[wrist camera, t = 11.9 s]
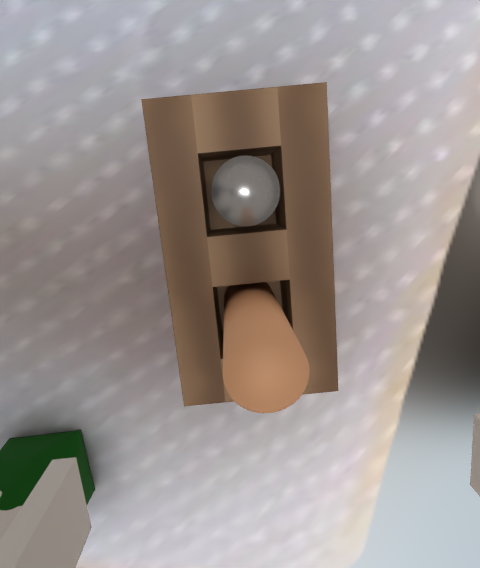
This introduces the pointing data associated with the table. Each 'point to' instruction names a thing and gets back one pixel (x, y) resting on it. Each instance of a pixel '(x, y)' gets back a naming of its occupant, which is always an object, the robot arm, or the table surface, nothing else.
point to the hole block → (244, 239)
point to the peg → (261, 351)
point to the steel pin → (245, 190)
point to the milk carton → (36, 468)
